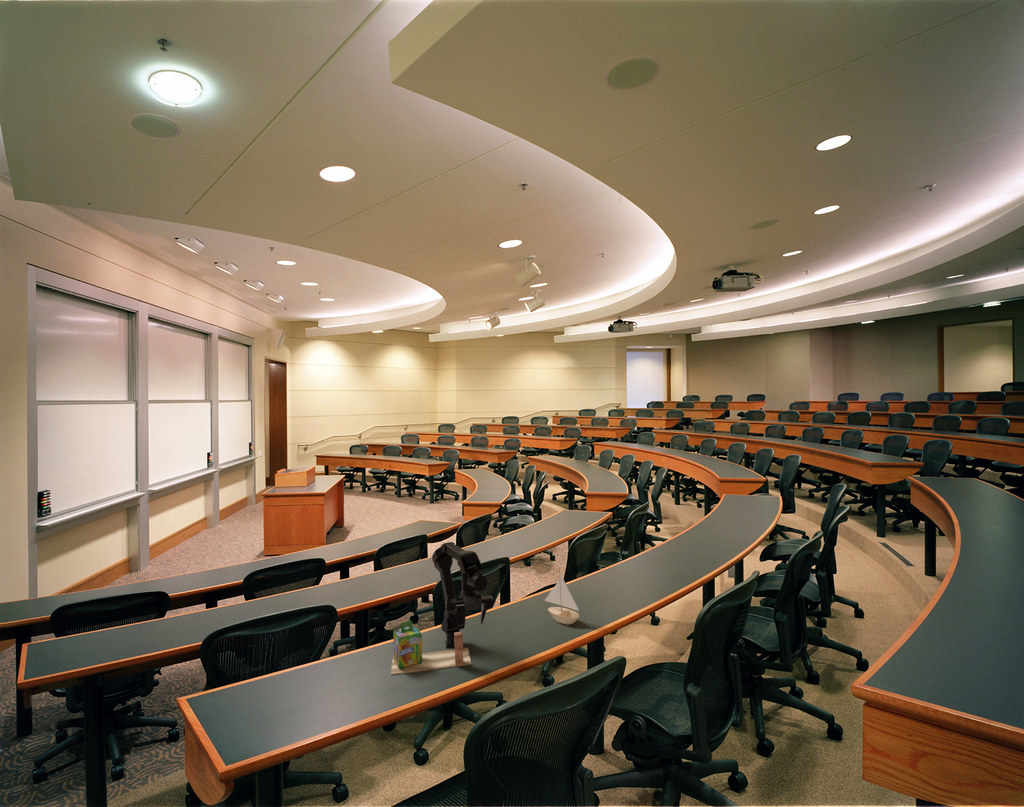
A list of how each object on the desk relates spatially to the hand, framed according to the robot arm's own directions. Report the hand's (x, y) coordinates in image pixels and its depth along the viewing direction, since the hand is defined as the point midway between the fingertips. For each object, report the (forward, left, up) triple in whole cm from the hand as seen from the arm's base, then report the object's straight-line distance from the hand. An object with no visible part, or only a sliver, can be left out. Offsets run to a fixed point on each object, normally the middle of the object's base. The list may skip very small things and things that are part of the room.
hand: (470, 625), depth 190 cm
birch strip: (-2, -15, -13) cm, 20 cm away
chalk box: (-3, -24, -13) cm, 28 cm away
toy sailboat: (-26, +45, -13) cm, 54 cm away
